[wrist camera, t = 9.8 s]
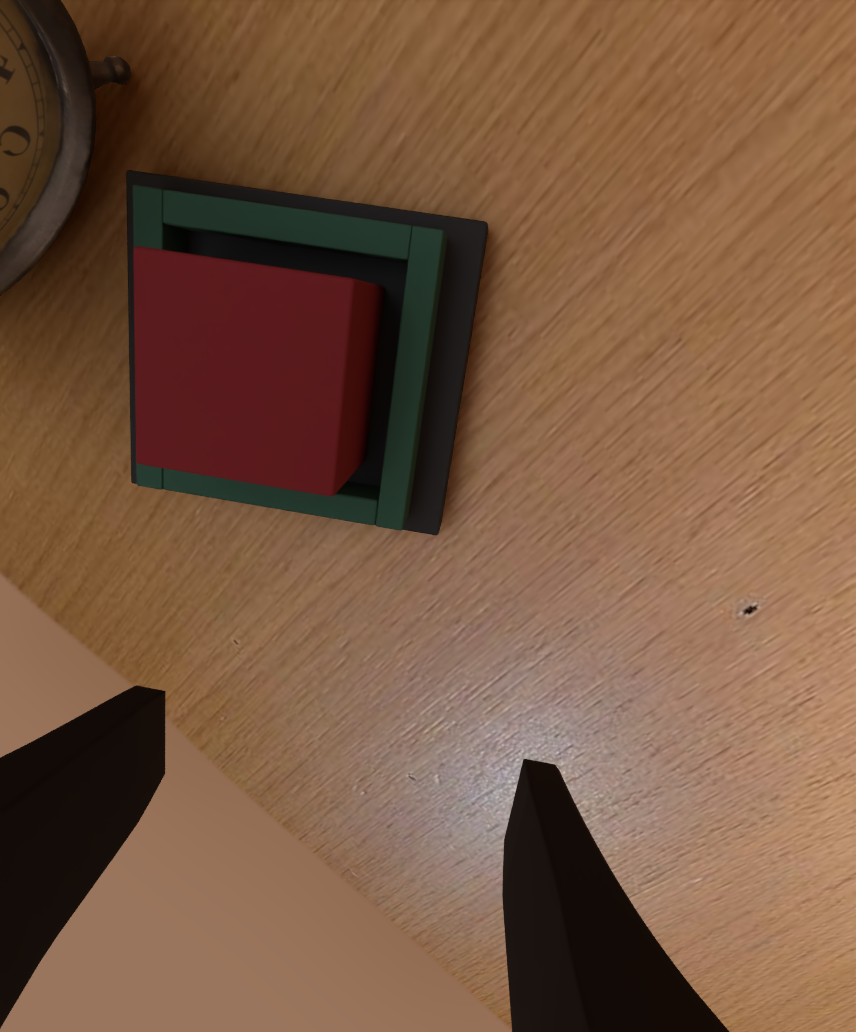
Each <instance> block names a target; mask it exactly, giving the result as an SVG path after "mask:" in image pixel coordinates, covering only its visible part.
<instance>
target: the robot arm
mask: <svg viewBox="0 0 856 1032" xmlns="http://www.w3.org/2000/svg"><path fill="white" fill-rule="evenodd" d="M164 774H165V691H162V690H157V689H151V688H146V687H141V686H134V687H132V688H130V689H128V690H126V691H124V692H122V693H121V694H119V695H117V696H115V697H113V698H112V699H109V700H108V701H106V702H104V703H102V704H100V705H99V706H97V707H95V708H93V709H91V710H90V711H88V712H86V713H84V714H82V715H81V716H79V717H77V718H75V719H74V720H71V721H70V722H68V723H66V724H64V725H62V726H60V727H59V728H57V729H55V730H53V731H51V732H49V733H47V734H46V735H44V736H42V737H40V738H38V739H36V740H35V741H33V742H31V743H29V744H27V745H25V746H23V747H21V748H19V749H17V750H15V751H13V752H11V753H9V754H7V755H5V756H3V757H1V758H0V1028H1V1026H2V1024H3V1023H4V1021H5V1019H6V1018H7V1016H8V1014H9V1013H10V1011H11V1009H12V1008H13V1006H14V1004H15V1003H16V1001H17V999H18V998H19V996H20V994H21V993H22V991H23V989H24V987H25V986H26V984H27V983H28V981H29V979H30V978H31V976H32V974H33V973H34V971H35V969H36V967H37V966H38V964H39V963H40V961H41V960H42V958H43V957H44V955H45V953H46V952H47V951H48V949H49V948H50V946H51V945H52V943H53V941H54V940H55V938H56V937H57V935H58V934H59V933H60V931H61V930H62V929H63V927H64V926H65V924H66V923H67V922H68V920H69V919H70V917H71V916H72V914H73V913H74V912H75V910H76V909H77V908H78V906H79V905H80V903H81V902H82V901H83V899H84V898H85V896H86V895H87V894H88V892H89V891H90V890H91V888H92V887H93V885H94V884H95V882H96V881H97V880H98V878H99V877H100V876H101V874H102V873H103V871H104V870H105V869H106V867H107V866H108V864H109V863H110V862H111V860H112V859H113V858H114V856H115V855H116V853H117V852H118V850H119V849H120V848H121V846H122V845H123V843H124V842H125V841H126V839H127V838H128V836H129V835H130V833H131V832H132V831H133V829H134V827H135V826H136V825H137V823H138V822H139V820H140V818H141V816H142V815H143V813H144V811H145V809H146V808H147V806H148V804H149V802H150V801H151V799H152V797H153V795H154V793H155V791H156V789H157V787H158V786H159V784H160V782H161V780H162V778H163V776H164ZM503 911H504V925H505V939H506V953H507V966H508V980H509V993H510V1007H511V1020H512V1032H729V1031H728V1030H727V1028H726V1027H725V1026H724V1025H723V1024H722V1022H721V1021H720V1020H719V1019H718V1018H717V1017H716V1015H715V1014H714V1013H713V1012H712V1011H711V1009H710V1008H709V1007H708V1006H707V1005H706V1004H705V1002H704V1001H703V1000H702V999H701V998H700V996H699V995H698V994H697V993H696V992H695V991H694V989H693V988H692V987H691V986H690V984H689V983H688V982H687V980H686V979H685V978H684V977H683V975H682V974H681V973H680V971H679V970H678V969H677V967H676V966H675V965H674V963H673V962H672V961H671V959H670V958H669V957H668V955H667V954H666V953H665V951H664V950H663V948H662V947H661V946H660V944H659V943H658V942H657V940H656V939H655V937H654V936H653V934H652V933H651V932H650V930H649V929H648V927H647V926H646V924H645V923H644V921H643V920H642V918H641V917H640V915H639V914H638V912H637V911H636V909H635V908H634V906H633V905H632V903H631V901H630V900H629V898H628V897H627V895H626V894H625V892H624V890H623V889H622V887H621V886H620V884H619V882H618V881H617V879H616V877H615V876H614V874H613V872H612V871H611V869H610V867H609V866H608V864H607V862H606V860H605V858H604V857H603V855H602V853H601V851H600V850H599V848H598V846H597V844H596V843H595V841H594V839H593V837H592V835H591V834H590V832H589V830H588V828H587V826H586V824H585V822H584V820H583V818H582V816H581V814H580V813H579V811H578V809H577V807H576V805H575V803H574V801H573V799H572V797H571V794H570V792H569V790H568V788H567V786H566V784H565V782H564V780H563V777H562V775H561V773H560V771H559V769H558V768H557V767H556V765H554V764H549V763H544V762H538V761H533V760H528V759H524V760H523V764H522V768H521V772H520V776H519V781H518V785H517V789H516V793H515V797H514V801H513V806H512V810H511V814H510V818H509V822H508V826H507V831H506V835H505V839H504V861H503Z"/></svg>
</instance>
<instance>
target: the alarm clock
mask: <svg viewBox="0 0 856 1032" xmlns="http://www.w3.org/2000/svg"><path fill="white" fill-rule="evenodd" d="M130 79H131V71H130V66H129V65H128V64H127V62H126V61H124V60H123V59H122V58H121V57H119V56H116V55H114V56H109V57H106V58H105V60H104V62H90V61H88V58H87V55H86V51H85V48H84V46H83V43H82V40H81V38H80V35H79V33H78V30H77V28H76V25H75V23H74V22H73V20H72V18H71V17H70V15H69V13H68V11H67V10H66V8H65V6H64V5H63V3H62V1H61V0H0V295H1V294H3V293H4V292H5V291H6V290H8V289H9V288H10V287H11V286H13V285H14V284H15V283H16V282H18V281H19V280H20V279H21V278H22V277H23V276H24V275H25V274H26V273H27V272H28V271H29V270H31V268H32V267H33V266H34V265H35V264H36V263H37V262H38V261H39V260H40V258H41V257H42V256H43V254H44V253H45V252H46V251H47V249H48V248H49V247H50V246H51V245H52V243H53V242H54V240H55V239H56V237H57V236H58V234H59V233H60V231H61V230H62V228H63V227H64V225H65V223H66V222H67V220H68V218H69V216H70V215H71V213H72V211H73V210H74V208H75V205H76V203H77V201H78V199H79V197H80V194H81V192H82V189H83V187H84V184H85V181H86V178H87V174H88V170H89V166H90V162H91V158H92V154H93V149H94V140H95V130H96V98H95V90H94V89H96V88H98V87H100V86H102V85H104V84H106V83H108V82H115V83H118V84H121V85H123V84H127V83H128V82H129V80H130Z"/></svg>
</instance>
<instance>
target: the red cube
mask: <svg viewBox="0 0 856 1032" xmlns="http://www.w3.org/2000/svg"><path fill="white" fill-rule="evenodd" d="M133 266H134V339H135V412H136V462H137V463H138V464H141V465H147V466H153V467H159V468H165V469H171V470H177V471H182V472H188V473H194V474H200V475H206V476H212V477H218V478H224V479H230V480H236V481H241V482H247V483H253V484H259V485H265V486H271V487H277V488H283V489H289V490H295V491H300V492H306V493H312V494H318V495H324V496H330V497H331V496H334V495H335V494H336V492H337V491H338V490H339V489H340V488H341V487H342V486H343V485H344V483H345V482H346V481H347V480H348V479H349V478H350V477H351V475H352V474H353V473H354V472H355V471H356V470H357V469H358V467H359V466H360V465H361V464H362V463H363V462H364V461H365V459H366V453H367V444H368V435H369V426H370V417H371V408H372V400H373V391H374V382H375V373H376V364H377V355H378V346H379V338H380V329H381V320H382V311H383V302H384V293H385V288H384V287H383V286H381V285H377V284H373V283H369V282H365V281H361V280H357V279H353V278H348V277H341V276H334V275H328V274H321V273H314V272H308V271H301V270H295V269H288V268H281V267H275V266H268V265H261V264H255V263H248V262H241V261H235V260H228V259H222V258H215V257H208V256H202V255H195V254H188V253H182V252H175V251H169V250H162V249H155V248H149V247H142V246H136V247H134V249H133Z"/></svg>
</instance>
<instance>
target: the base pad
mask: <svg viewBox="0 0 856 1032" xmlns="http://www.w3.org/2000/svg"><path fill="white" fill-rule="evenodd" d="M126 183H127V244H128V304H129V365H130V425H131V482H132V483H134V484H137V485H138V486H144V487H150V488H156V489H165V490H170V491H176V492H182V493H188V494H194V495H200V496H205V497H211V498H217V499H223V500H229V501H235V502H240V503H246V504H252V505H258V506H264V507H270V508H275V509H281V510H287V511H293V512H299V513H305V514H310V515H316V516H322V517H328V518H334V519H340V520H345V521H351V522H357V523H363V524H369V525H376V526H378V527H384V528H390V529H395V530H408V531H414V532H420V533H426V534H432V535H438V533H439V530H440V526H441V521H442V515H443V509H444V503H445V497H446V490H447V484H448V478H449V472H450V465H451V459H452V453H453V447H454V440H455V434H456V428H457V422H458V415H459V409H460V403H461V397H462V390H463V384H464V378H465V372H466V366H467V359H468V353H469V347H470V341H471V334H472V328H473V322H474V316H475V309H476V303H477V297H478V291H479V284H480V278H481V272H482V266H483V259H484V253H485V247H486V241H487V235H488V224H487V222H484V221H478V220H471V219H464V218H457V217H450V216H443V215H436V214H429V213H422V212H415V211H408V210H401V209H395V208H388V207H381V206H374V205H367V204H360V203H353V202H346V201H339V200H332V199H325V198H318V197H312V196H305V195H298V194H291V193H284V192H277V191H270V190H263V189H256V188H249V187H242V186H235V185H228V184H222V183H215V182H208V181H201V180H194V179H187V178H180V177H173V176H166V175H159V174H152V173H145V172H139V171H132V170H128V171H127V172H126ZM136 246H142V247H149V248H155V249H162V250H169V251H175V252H182V253H188V254H195V255H202V256H208V257H215V258H222V259H228V260H235V261H241V262H248V263H255V264H261V265H268V266H275V267H281V268H288V269H295V270H301V271H308V272H314V273H321V274H328V275H334V276H341V277H348V278H353V279H357V280H361V281H365V282H369V283H373V284H377V285H381V286H383V287H384V288H385V293H384V302H383V311H382V320H381V329H380V338H379V346H378V355H377V364H376V373H375V382H374V391H373V400H372V408H371V417H370V426H369V435H368V444H367V453H366V459H365V461H364V462H363V463H362V464H361V465H360V466H359V467H358V469H357V470H356V471H355V472H354V473H353V474H352V475H351V477H350V478H349V479H348V480H347V481H346V482H345V483H344V485H343V486H342V487H341V488H340V489H339V490H338V491H337V492H336V494H335V495H334V496H331V497H330V496H324V495H318V494H312V493H306V492H300V491H295V490H289V489H283V488H277V487H271V486H265V485H259V484H253V483H247V482H241V481H236V480H230V479H224V478H218V477H212V476H206V475H200V474H194V473H188V472H182V471H177V470H171V469H165V468H159V467H153V466H147V465H141V464H138V463H137V462H136V412H135V339H134V266H133V249H134V247H136Z"/></svg>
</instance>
